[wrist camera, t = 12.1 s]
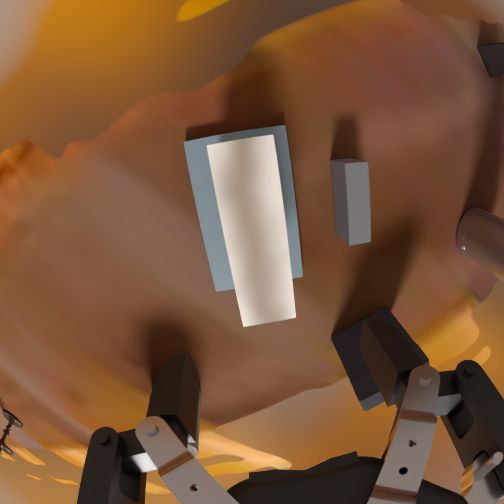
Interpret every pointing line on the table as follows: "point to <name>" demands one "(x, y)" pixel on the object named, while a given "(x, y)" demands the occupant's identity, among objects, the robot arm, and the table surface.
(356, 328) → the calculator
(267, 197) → the shelf board
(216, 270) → the peg stand
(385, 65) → the table surface
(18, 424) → the candlestick
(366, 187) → the block
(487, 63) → the phone stand
